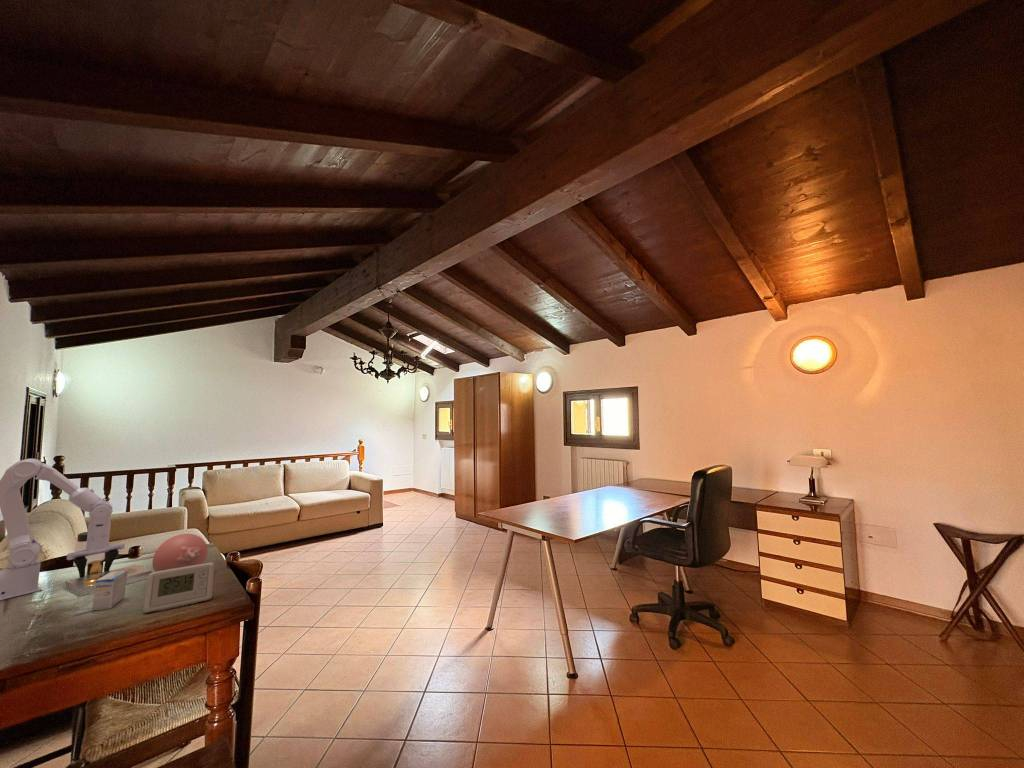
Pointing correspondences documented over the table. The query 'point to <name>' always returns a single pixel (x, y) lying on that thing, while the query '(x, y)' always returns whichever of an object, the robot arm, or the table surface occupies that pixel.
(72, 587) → the jig
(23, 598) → the table surface
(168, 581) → the digital clock
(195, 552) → the pink oval ball
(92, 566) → the bushing
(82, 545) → the jar
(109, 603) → the medicine box
